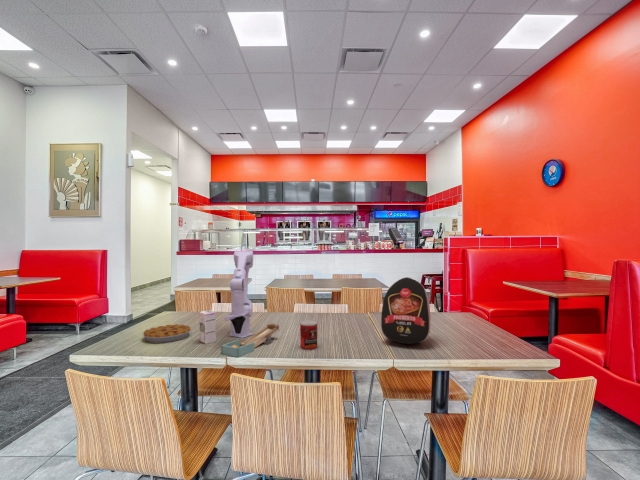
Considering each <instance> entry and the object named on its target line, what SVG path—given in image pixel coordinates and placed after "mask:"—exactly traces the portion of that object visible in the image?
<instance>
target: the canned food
mask: <svg viewBox="0 0 640 480" xmlns="http://www.w3.org/2000/svg"><path fill="white" fill-rule="evenodd" d="M299 324H300V326H299V328H300V332H299V333H300V334H299V335H300V337H299V341H300V348H301V349H303V350H307V351H308V350H315V349H316V348H318V347H317V346H318V322H317V321H315V320H303V321H300V323H299Z"/></svg>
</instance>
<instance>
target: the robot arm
mask: <svg viewBox="0 0 640 480" xmlns="http://www.w3.org/2000/svg"><path fill="white" fill-rule="evenodd" d="M233 261H234V265H235V269H234V270H233V275H232V279H230V281H229V288H230V295H231V313H230V314H228V315H224V321H226V322H229V321H230V333H229V336H230V337H234V338H235V337H236V338H241V339H244V338H247V337H251V336H253V335H254V333H253V332H251V331H250V330H251V329H250V324H251V323H250V318H251V317H252V316H253V303H252V300H250V299H248V288H249V287H248V284H249V272H250V269H251V268H253V266H254V251H253V250H235V251H234V252H233Z"/></svg>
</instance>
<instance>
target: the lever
mask: <svg viewBox="0 0 640 480" xmlns="http://www.w3.org/2000/svg"><path fill="white" fill-rule="evenodd" d="M278 331H280V326H279V324H277V323H271V322H270V323H266V326H265V327H264V328H261V330H259V331H258V332H256V333H255V335H254V334H253V335H251V336H250V337H249V338H248V339H246V340H244V341H243V340H240V346H244V345H247V344H250V343H252V342H254V349H255V348H256V347H258V346H260V345H262V344H261V343H262V342H264V341H265V340H266V337H267V336H271V337H272V336H273V335H274V334H276V333H277V332H278ZM235 340H236V339H234V340H233V341H235Z"/></svg>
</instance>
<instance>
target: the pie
mask: <svg viewBox="0 0 640 480" xmlns="http://www.w3.org/2000/svg"><path fill="white" fill-rule="evenodd" d="M191 331H192V329H191V326H189V325H185V324H178V323H177V324H176V323H175V324H166V325H158V326H157V327H150V328H149V329H145V330H144V331H143V334H142V335H143V337H144V339H146V341H147V342H148V341H149V343H151V342H152V343H153V344H164V343H171V342H176V341H180V340H184V339H186V338H188V336H189V334H190V332H191Z"/></svg>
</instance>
